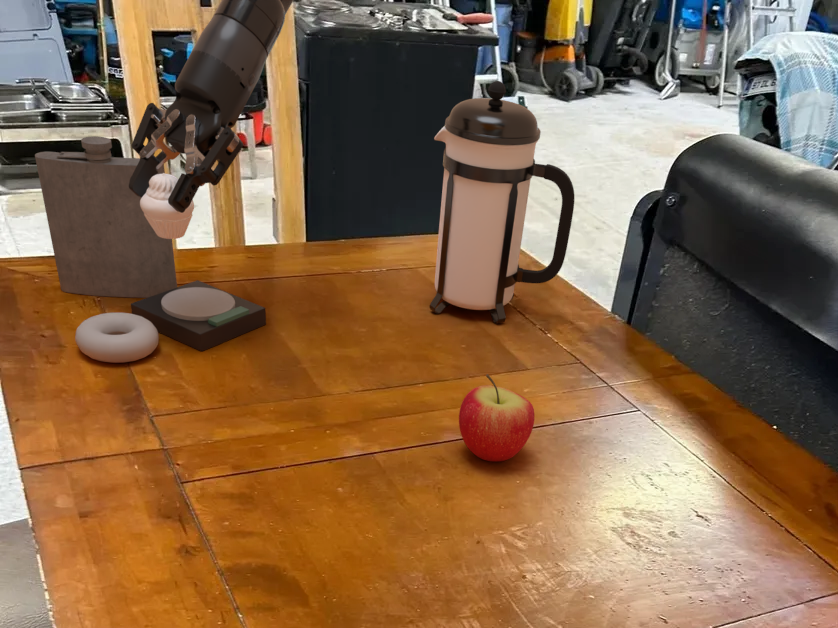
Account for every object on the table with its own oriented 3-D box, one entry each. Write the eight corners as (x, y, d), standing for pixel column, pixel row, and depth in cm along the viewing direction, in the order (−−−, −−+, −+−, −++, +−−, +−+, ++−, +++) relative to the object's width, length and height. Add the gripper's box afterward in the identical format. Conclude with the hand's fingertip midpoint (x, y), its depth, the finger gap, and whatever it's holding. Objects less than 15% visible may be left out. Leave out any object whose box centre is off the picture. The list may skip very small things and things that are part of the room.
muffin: (202, 241, 106) (196, 179, 101) (150, 245, 104) (141, 182, 99) (190, 223, 110) (184, 163, 105) (139, 227, 108) (130, 165, 103)
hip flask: (179, 288, 129) (162, 138, 115) (175, 300, 126) (158, 147, 112) (63, 283, 126) (33, 129, 113) (57, 295, 123) (26, 138, 110)
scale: (132, 320, 119) (129, 299, 117) (199, 296, 127) (197, 275, 125) (201, 351, 114) (199, 329, 113) (266, 324, 122) (265, 303, 120)
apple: (451, 434, 105) (460, 355, 98) (521, 436, 106) (535, 359, 99) (458, 472, 99) (468, 391, 92) (532, 474, 100) (547, 394, 93)
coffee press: (458, 335, 126) (484, 98, 106) (405, 292, 136) (420, 68, 116) (557, 319, 133) (598, 96, 114) (500, 279, 143) (529, 67, 123)
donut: (153, 330, 118) (73, 335, 114) (150, 305, 116) (68, 309, 112) (166, 364, 111) (82, 371, 108) (164, 338, 109) (77, 344, 105)
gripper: (158, 36, 102) (90, 165, 102) (249, 61, 97) (178, 197, 97) (197, 82, 109) (134, 203, 109) (284, 108, 104) (218, 235, 104)
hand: (155, 200), depth 103 cm, fingers closed on muffin, 6 cm apart
